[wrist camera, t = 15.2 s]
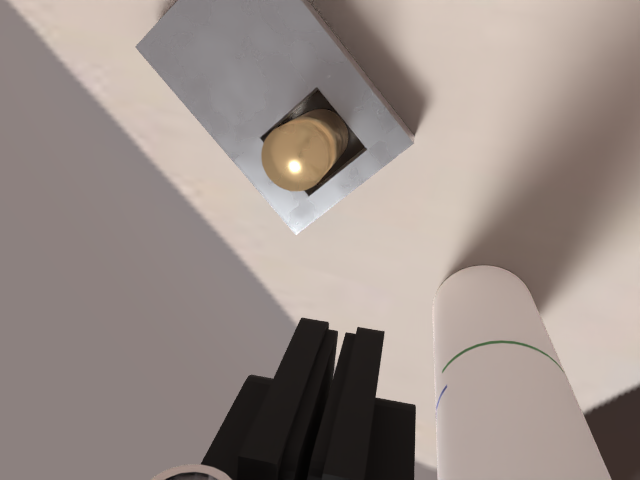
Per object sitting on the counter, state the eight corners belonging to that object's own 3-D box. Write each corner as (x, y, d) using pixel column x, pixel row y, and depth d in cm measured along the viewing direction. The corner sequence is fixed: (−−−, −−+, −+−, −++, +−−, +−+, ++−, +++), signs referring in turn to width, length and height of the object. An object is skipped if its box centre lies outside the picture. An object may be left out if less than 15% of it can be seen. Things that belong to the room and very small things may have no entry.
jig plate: (156, 47, 38) (135, 47, 35) (258, -63, 34) (243, -73, 31) (305, 222, 40) (296, 235, 37) (414, 136, 36) (413, 143, 34)
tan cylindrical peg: (294, 108, 37) (260, 122, 30) (349, 109, 37) (328, 125, 29) (294, 162, 39) (261, 189, 31) (347, 165, 38) (327, 193, 30)
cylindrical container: (420, 336, 41) (414, 705, 18) (450, 253, 39) (490, 559, 15) (512, 365, 41) (629, 784, 17) (549, 282, 38) (745, 646, 15)
